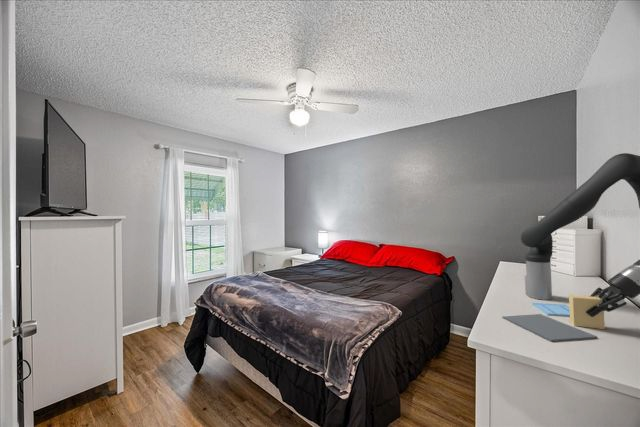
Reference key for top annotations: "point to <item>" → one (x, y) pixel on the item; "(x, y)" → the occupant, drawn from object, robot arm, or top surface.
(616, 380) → the top surface
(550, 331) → the mat
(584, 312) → the yellow block
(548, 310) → the light blue flat slab
